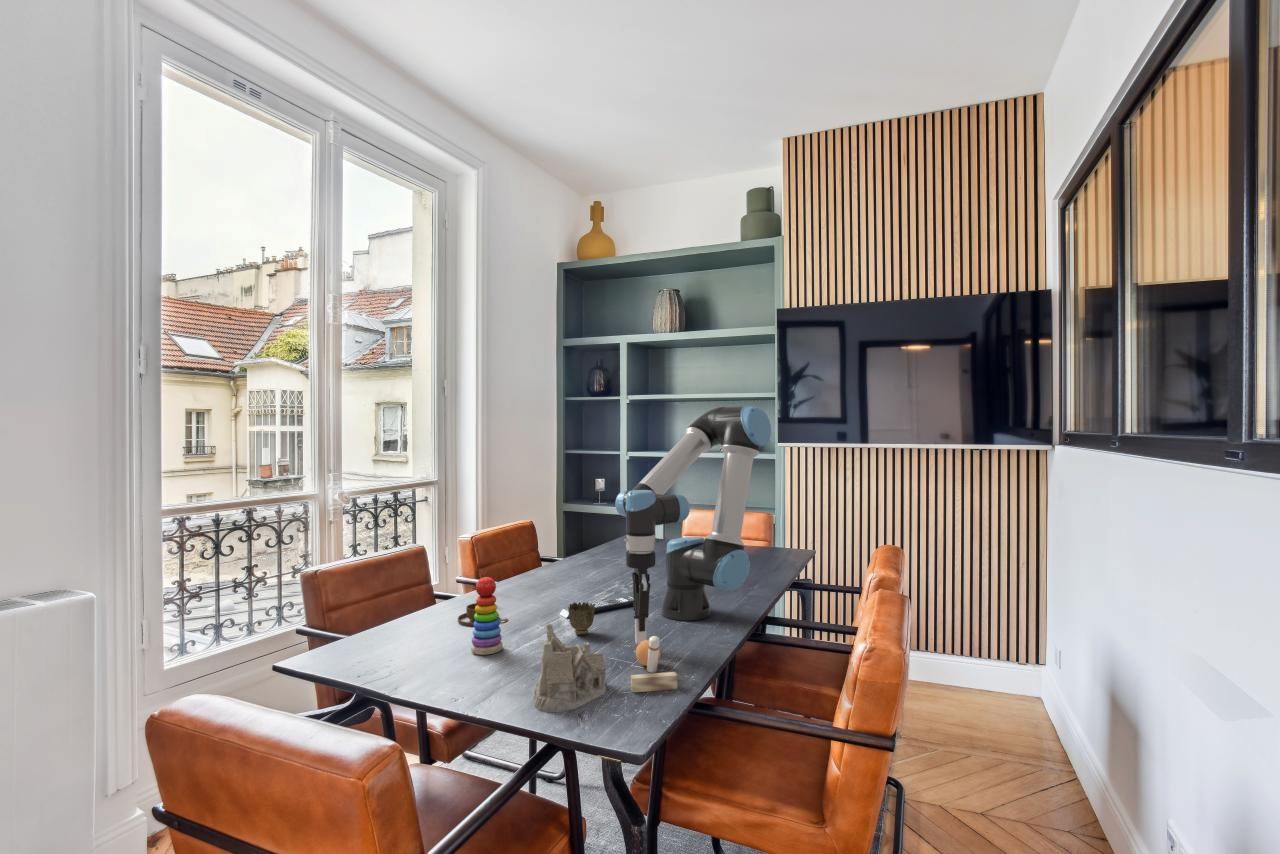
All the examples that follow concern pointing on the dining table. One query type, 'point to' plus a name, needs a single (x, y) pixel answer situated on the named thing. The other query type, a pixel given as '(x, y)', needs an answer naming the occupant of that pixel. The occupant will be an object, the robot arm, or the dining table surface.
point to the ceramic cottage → (568, 676)
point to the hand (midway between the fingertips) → (641, 642)
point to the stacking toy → (486, 620)
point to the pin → (653, 654)
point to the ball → (644, 652)
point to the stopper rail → (653, 682)
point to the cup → (581, 617)
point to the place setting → (471, 615)
